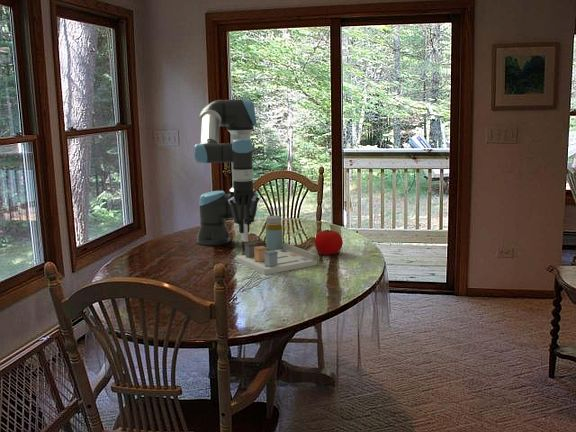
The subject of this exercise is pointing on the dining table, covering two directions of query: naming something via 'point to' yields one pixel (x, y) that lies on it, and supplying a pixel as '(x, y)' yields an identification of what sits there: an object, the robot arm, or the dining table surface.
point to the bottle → (273, 233)
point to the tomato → (328, 242)
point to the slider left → (250, 249)
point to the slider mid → (259, 253)
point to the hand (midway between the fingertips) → (244, 240)
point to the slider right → (270, 257)
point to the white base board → (282, 260)
